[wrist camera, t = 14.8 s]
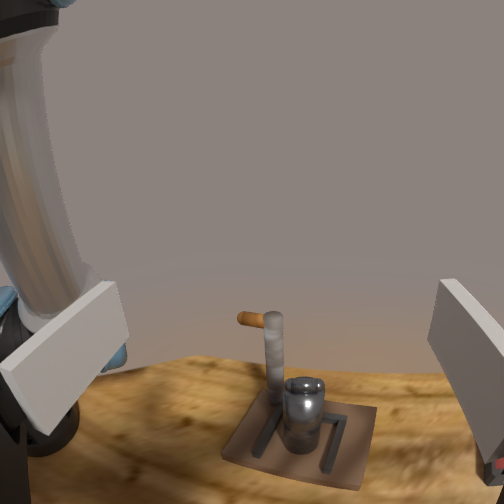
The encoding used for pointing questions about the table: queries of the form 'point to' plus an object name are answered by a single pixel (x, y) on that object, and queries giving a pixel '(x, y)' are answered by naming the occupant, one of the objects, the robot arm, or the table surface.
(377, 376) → the table surface
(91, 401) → the table surface
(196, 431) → the table surface
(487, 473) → the walkie-talkie
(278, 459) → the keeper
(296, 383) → the grey metal canister
